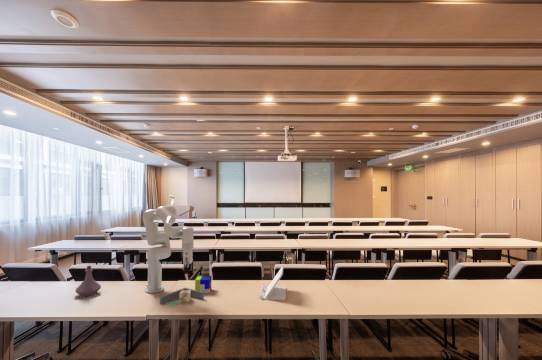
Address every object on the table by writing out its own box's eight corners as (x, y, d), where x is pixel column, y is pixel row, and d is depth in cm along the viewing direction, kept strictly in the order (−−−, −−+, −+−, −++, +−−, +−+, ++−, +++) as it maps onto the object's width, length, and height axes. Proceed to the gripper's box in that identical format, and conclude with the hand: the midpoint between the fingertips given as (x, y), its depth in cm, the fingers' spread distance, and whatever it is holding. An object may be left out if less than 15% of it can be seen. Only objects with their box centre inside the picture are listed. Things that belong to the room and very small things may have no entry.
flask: (79, 300, 191) (80, 270, 192) (70, 295, 201) (71, 266, 202) (105, 293, 204) (106, 265, 205) (96, 289, 214) (96, 262, 215)
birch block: (179, 302, 185) (179, 293, 186) (181, 299, 191) (181, 290, 192) (188, 302, 186) (188, 293, 186) (190, 299, 192) (190, 290, 192)
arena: (159, 304, 183) (160, 296, 184) (185, 294, 201) (185, 287, 202) (179, 310, 174) (179, 302, 174) (203, 299, 192) (203, 292, 192)
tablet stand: (286, 288, 216) (286, 265, 217) (285, 300, 191) (285, 274, 192) (262, 287, 217) (262, 265, 218) (258, 299, 193) (258, 274, 193)
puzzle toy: (209, 293, 204) (209, 279, 204) (195, 294, 203) (195, 279, 204) (211, 289, 214) (211, 275, 214) (197, 289, 213) (198, 275, 214)
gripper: (191, 248, 182) (191, 275, 181) (195, 243, 199) (195, 268, 198) (179, 248, 181) (178, 275, 180) (184, 243, 198) (184, 268, 197)
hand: (187, 271), depth 189 cm, fingers open, 9 cm apart
